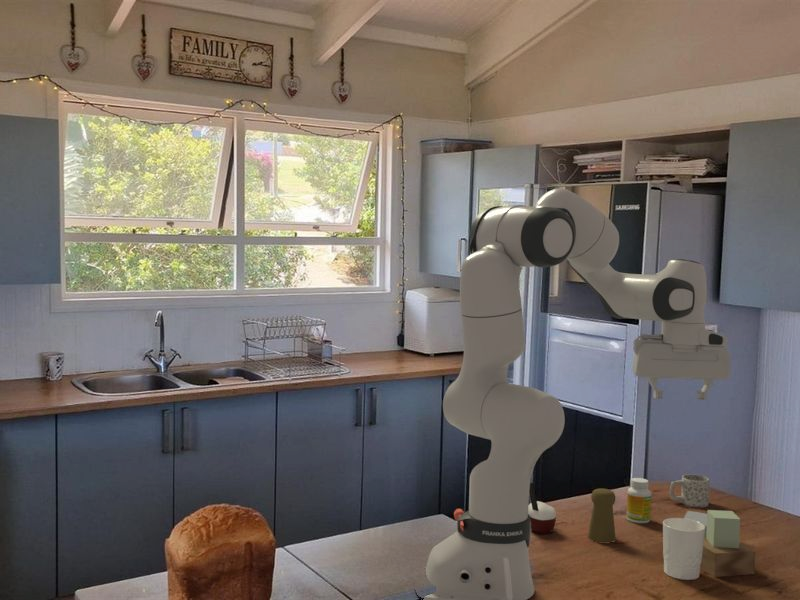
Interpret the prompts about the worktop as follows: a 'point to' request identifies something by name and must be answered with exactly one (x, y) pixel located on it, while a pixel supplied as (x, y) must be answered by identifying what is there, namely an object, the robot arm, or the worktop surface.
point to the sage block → (723, 529)
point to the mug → (692, 490)
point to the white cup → (682, 547)
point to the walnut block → (727, 560)
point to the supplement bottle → (639, 501)
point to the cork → (602, 516)
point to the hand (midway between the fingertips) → (679, 398)
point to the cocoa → (540, 514)
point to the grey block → (697, 518)
